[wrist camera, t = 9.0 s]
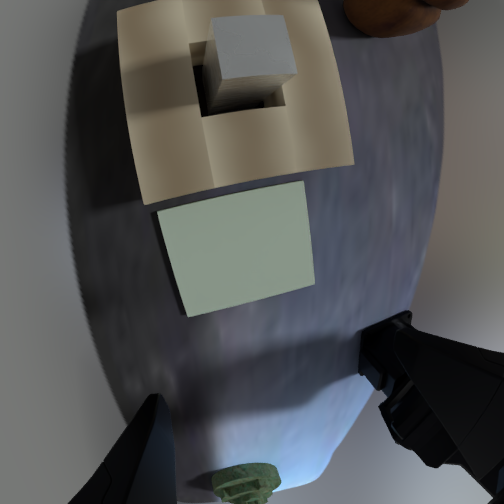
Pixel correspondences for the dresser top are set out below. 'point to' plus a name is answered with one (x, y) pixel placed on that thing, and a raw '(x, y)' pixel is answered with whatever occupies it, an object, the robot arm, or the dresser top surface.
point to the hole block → (228, 124)
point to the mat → (239, 246)
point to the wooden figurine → (396, 15)
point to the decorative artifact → (246, 483)
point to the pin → (245, 61)
